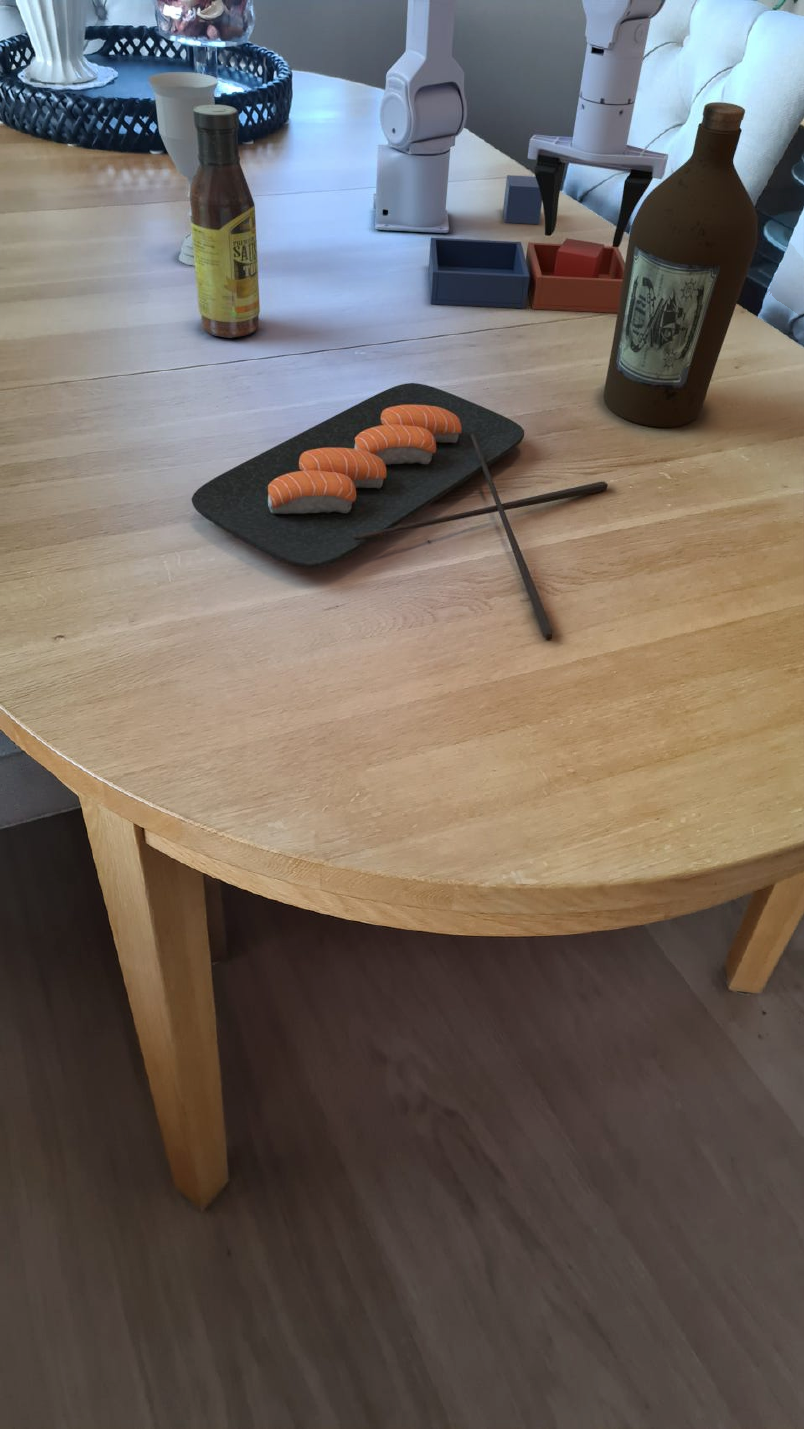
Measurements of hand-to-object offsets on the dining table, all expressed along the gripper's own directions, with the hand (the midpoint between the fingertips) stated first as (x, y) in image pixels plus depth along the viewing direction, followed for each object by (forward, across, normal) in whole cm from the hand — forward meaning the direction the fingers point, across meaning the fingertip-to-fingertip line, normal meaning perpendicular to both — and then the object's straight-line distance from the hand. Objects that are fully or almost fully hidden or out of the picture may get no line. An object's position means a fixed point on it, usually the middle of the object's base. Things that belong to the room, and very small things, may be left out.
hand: (582, 238), depth 108 cm
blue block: (+6, +12, -22) cm, 26 cm away
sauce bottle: (+6, +31, +26) cm, 41 cm away
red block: (+6, 0, 0) cm, 6 cm away
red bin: (+6, 0, 0) cm, 6 cm away
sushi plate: (+6, 0, +51) cm, 51 cm away
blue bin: (+6, +11, +4) cm, 13 cm away
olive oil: (+6, -13, +24) cm, 28 cm away
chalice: (+6, +43, +10) cm, 45 cm away
